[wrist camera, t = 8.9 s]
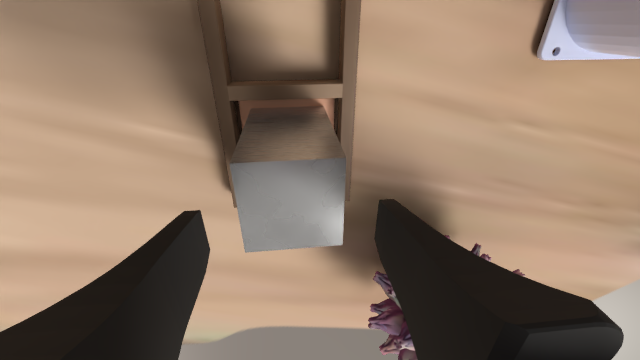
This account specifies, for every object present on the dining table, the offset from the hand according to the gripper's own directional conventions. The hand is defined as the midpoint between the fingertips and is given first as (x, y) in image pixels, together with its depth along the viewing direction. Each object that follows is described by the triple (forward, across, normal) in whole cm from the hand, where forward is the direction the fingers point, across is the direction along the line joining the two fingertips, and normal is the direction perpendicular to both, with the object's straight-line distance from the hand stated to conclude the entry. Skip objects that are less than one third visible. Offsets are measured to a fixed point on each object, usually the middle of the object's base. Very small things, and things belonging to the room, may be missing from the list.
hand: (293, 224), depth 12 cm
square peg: (+9, 0, 0) cm, 9 cm away
